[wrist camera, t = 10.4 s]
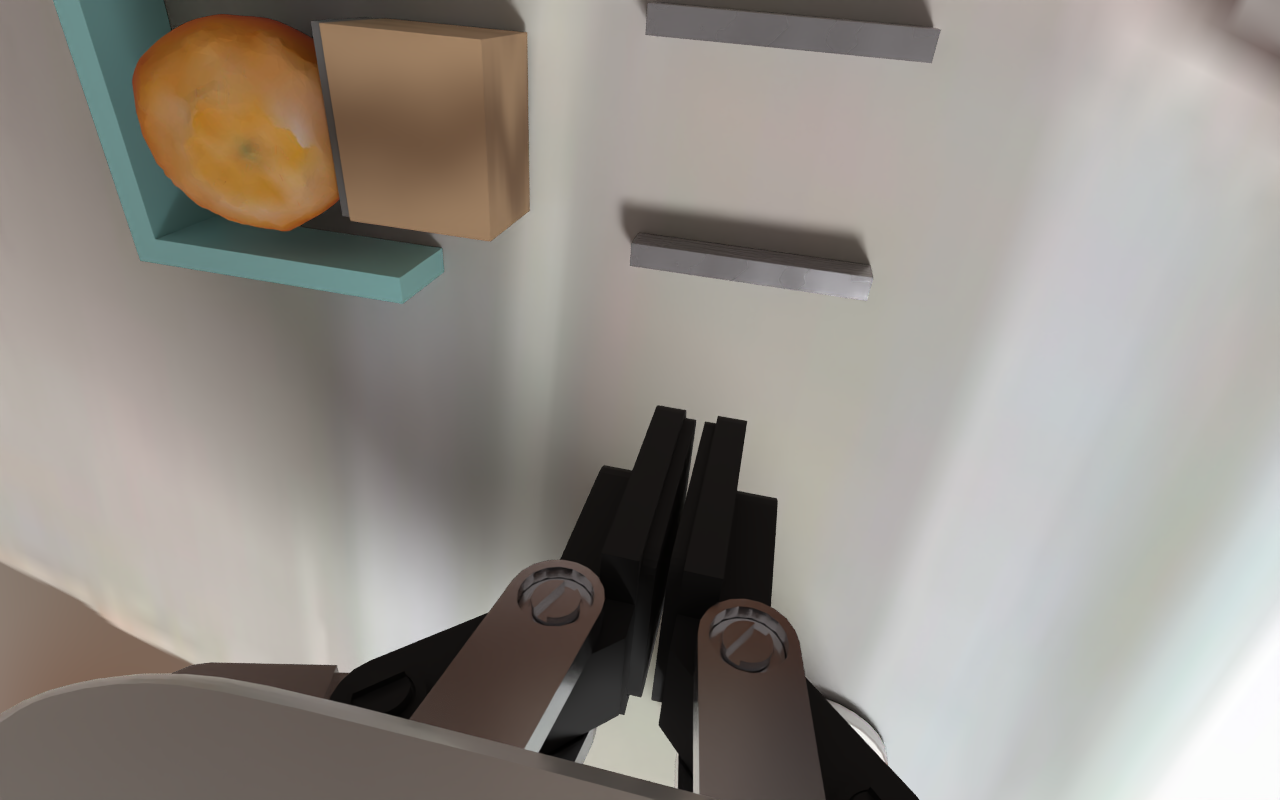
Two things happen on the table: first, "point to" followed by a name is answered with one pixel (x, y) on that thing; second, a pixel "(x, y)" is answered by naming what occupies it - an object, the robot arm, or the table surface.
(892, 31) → the launcher track
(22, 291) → the table surface
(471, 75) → the block
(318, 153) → the fruit
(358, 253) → the teal u-shaped frame
